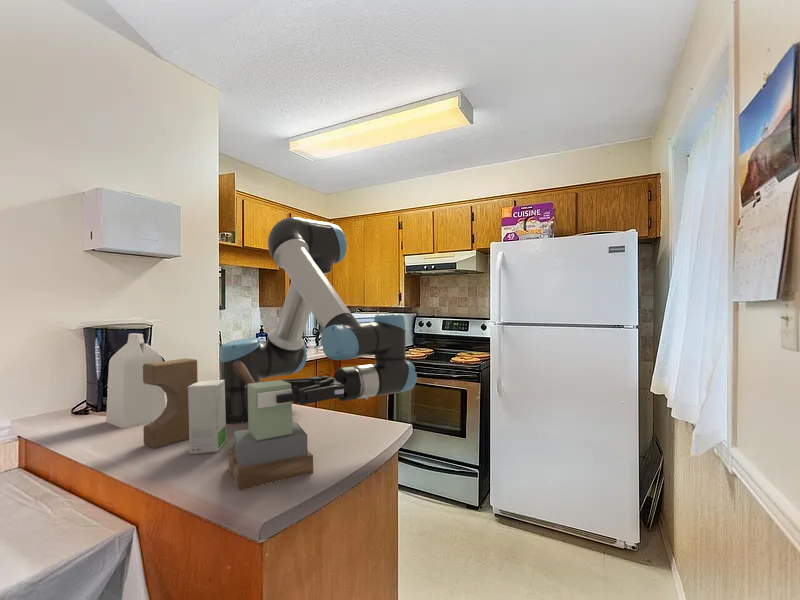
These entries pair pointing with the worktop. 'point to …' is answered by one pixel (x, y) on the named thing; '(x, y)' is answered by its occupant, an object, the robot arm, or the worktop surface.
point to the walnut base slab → (269, 470)
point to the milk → (133, 386)
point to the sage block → (268, 412)
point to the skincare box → (206, 416)
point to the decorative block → (170, 400)
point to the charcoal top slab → (269, 447)
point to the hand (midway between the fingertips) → (252, 396)
